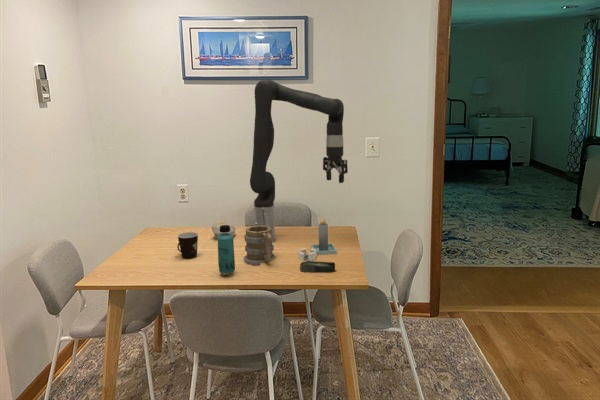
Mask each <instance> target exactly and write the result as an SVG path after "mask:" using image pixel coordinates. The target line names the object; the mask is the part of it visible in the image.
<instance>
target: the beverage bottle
mask: <svg viewBox="0 0 600 400" xmlns="http://www.w3.org/2000/svg"><path fill="white" fill-rule="evenodd" d="M229 225H230V224H229ZM229 225H222V226H220V232H223V233H222V234H220V235H219V236H218V237H217V238H216V239H217V259H218V260H217V261H218V264H217V266H218V272H219V273H220V274H223V275H227V274H228V275H229V274H232V273H234V272H235V271H236V259H235V245H234V242H235V241H234V236H233V235H231V234H230V233H224V232H229V231H230V226H229Z"/></svg>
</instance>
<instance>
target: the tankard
mask: <svg viewBox="0 0 600 400" xmlns="http://www.w3.org/2000/svg"><path fill="white" fill-rule="evenodd" d="M243 236H244V241H245V242H246V243H245V244H246V245H245V246H244V250H245V253H246V255H244V256H243V260H244V261H245V263H246V264H247V265H251V266H261V264H265V263H270V262H272V261H273V260H275V259H276V258H277V256H276V255H275V254H274V253H273V251H274V250H275V249H274V247H275V246H274V244H273V242H272V240H273V234H272V230H271V228H270V227H269V226H262V225H260V226H259V225H258V226H255V225H252V226H249V227H246V229H245V234H244V235H243Z"/></svg>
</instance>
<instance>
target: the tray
mask: <svg viewBox="0 0 600 400" xmlns="http://www.w3.org/2000/svg"><path fill="white" fill-rule="evenodd" d="M310 249H315V250H317V256H322V255H323V256H325V255H326V256H327V255H337V254H338V253H337V251H338V250H337V248H336V246H335V245H334V243H328V251H319V243H316V244H310Z"/></svg>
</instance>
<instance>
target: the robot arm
mask: <svg viewBox="0 0 600 400" xmlns="http://www.w3.org/2000/svg"><path fill="white" fill-rule="evenodd" d="M273 101H279V102H285V103H290V104H293V105H295V106H297V107H301V108H302V109H306V110H307V109H308V110H310V111H315V112H319V113H322V114H324V115H327V116H328V120H327V123H326V138H325V147H326V148H325V150H326V151H325V153H326V156H323V158H322V170H323V171H325V174H326V176H325V177H326V181H331V180H332V170H333V169H335V170H336V171H337V172H338V183H339V184H343V183H344V181H345V175H346V174H348V169H349V168H348V160H347V159H343V156H344V135H343V134H344V131H343V130H344V129H343V127H344V126H343V122H344V113H345V112H344V111H345V107H344V103H343V101H342V100H341V99H339V98H329V97H326V96H322V95H320V94H317V93H314V92H308V91H304V90H301V89H300V90H299V89H295V88H290V87H287V86H285V85H282V84H280V83H277V82H275V81H273V80H270V79H263V80H261V79H260V81H258V82H257V83H256V85H255V87H254V104H255V105H254V107H255V109H254V110H255V114H254V115H255V116H254V127H253V128H254V130H253V147H252V148H253V151H252V164H251V171H250V177H249V178H250V179H249V186H250V189H251V191H253V193H256V194H257V197H256V198H254V201H253V206H254V207H253V208H254V226H258V225H259V226H260V225H262V226H269V227H270V228H271V230H272V234H273V240H272V243H273V242H274V241H275V240H276V232H275V230H276V229H275V209H274V207H275V206H274V205H275V199H276V180H275V177H274V175H273V173H272V172H270V171H267V164H268V161H269V158H270V156H271V153H272V151H273V149H274V144H275V142H274V141H275V128H274V123H273V119H272V103H273Z"/></svg>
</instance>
